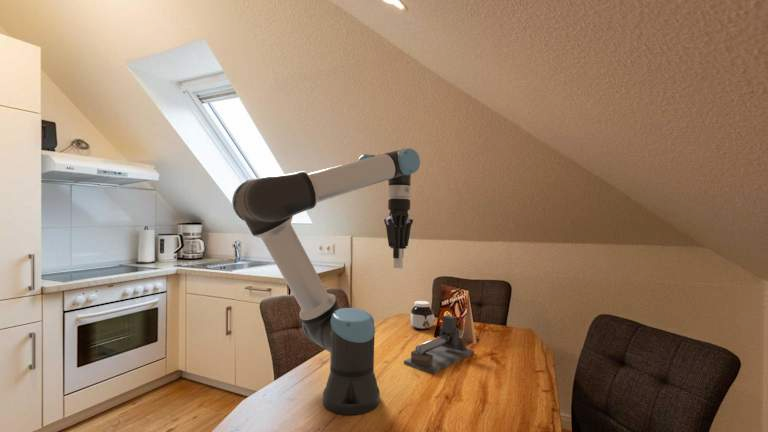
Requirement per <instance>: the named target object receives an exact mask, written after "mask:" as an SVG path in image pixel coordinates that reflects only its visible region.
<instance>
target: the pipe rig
mask: <svg viewBox="0 0 768 432" xmlns="http://www.w3.org/2000/svg"><path fill="white" fill-rule="evenodd" d="M467 342H468V341H467V339H464V338H462V337H460V338H459V348H457V349H455V350H454V349H451V348H447V347H444V346H440V347H437V348H435V349H433V350H431V351H428V352H426V353H424V354H421V355H419V354H417V352H416V349H415V350H412V351H411V352H410V357H409V358H407V359H405V360H403V365H406V366H409V367H412V368H414V369H418V370H419V371H423V372H425V373H429V374H431V375H435V374H437V373H439V372H440V371H442V370H444V369H446V368H448V367H450V366H451V365H454V364H456V363H458V362H460V361H462V360H463V359H465V358H467V357H469V356H471V355H473V354H474V352H475V351H474V350H473V349H469V348H468V347H467V346H468V345H467Z"/></svg>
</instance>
